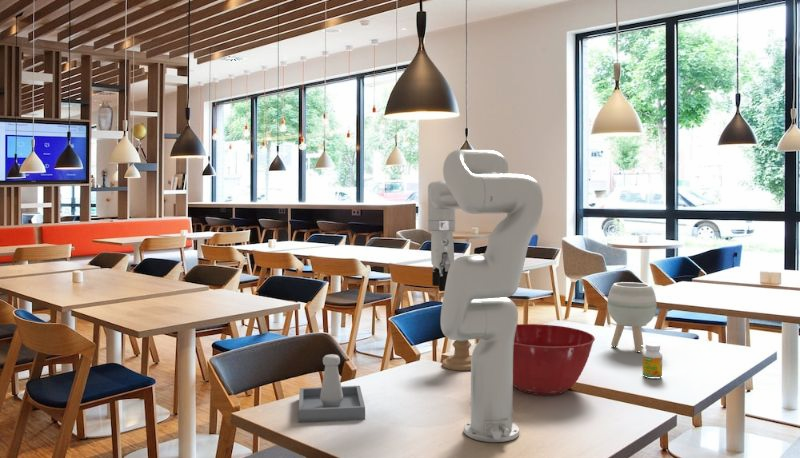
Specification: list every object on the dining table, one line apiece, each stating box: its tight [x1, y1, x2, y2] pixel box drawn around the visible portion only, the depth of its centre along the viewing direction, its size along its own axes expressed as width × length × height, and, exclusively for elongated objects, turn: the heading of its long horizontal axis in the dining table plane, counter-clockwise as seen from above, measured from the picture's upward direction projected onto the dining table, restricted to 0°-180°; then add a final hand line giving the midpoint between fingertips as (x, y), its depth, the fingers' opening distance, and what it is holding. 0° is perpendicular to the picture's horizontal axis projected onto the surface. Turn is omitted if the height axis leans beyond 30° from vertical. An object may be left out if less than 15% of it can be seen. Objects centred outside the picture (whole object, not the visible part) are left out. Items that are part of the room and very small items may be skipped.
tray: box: [298, 385, 366, 423], centre depth 173 cm, size 18×16×3 cm
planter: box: [606, 281, 658, 352], centre depth 236 cm, size 16×16×22 cm
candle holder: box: [441, 340, 472, 372], centre depth 214 cm, size 12×12×20 cm
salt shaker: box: [320, 353, 343, 408], centre depth 173 cm, size 6×6×13 cm
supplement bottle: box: [642, 342, 663, 377], centre depth 201 cm, size 5×5×10 cm
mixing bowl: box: [513, 323, 596, 396], centre depth 190 cm, size 28×28×16 cm
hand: (441, 288), depth 189 cm, fingers open, 9 cm apart
